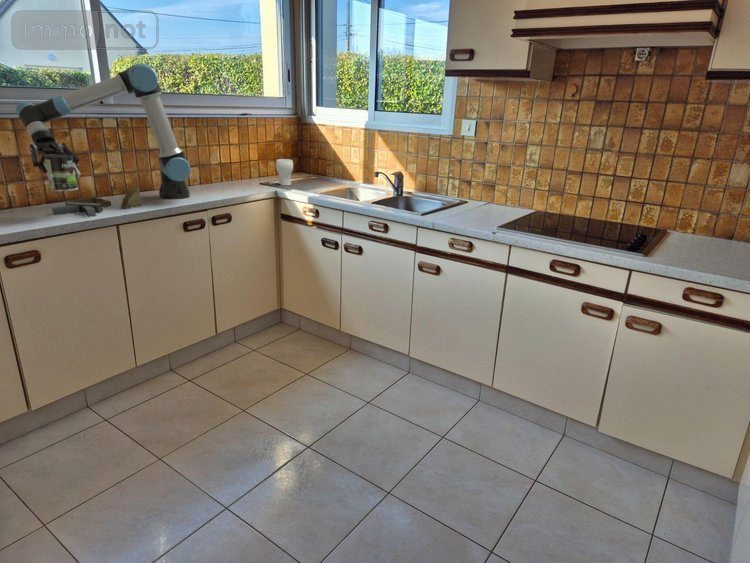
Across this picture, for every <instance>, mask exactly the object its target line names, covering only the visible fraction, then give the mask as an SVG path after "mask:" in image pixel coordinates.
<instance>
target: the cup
mask: <svg viewBox="0 0 750 563" xmlns="http://www.w3.org/2000/svg"><path fill="white" fill-rule="evenodd" d="M275 169H276V172H277V174H278V185H279V184H281V185H280V186H291V185H292V180H291V176H292V172H293V171H294V162H293V160H292V159H290V158H289V159H288V158H287V159H286V158H279V159H276V161H275Z"/></svg>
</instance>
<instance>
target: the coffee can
mask: <svg viewBox="0 0 750 563" xmlns="http://www.w3.org/2000/svg"><path fill="white" fill-rule="evenodd" d="M44 164H47V166H48V168H49V170H50V171H51V173H52V175H53V179H52V181H50V180H49V178H48V177H47V180H48V184H49V190H50V191H51V192H72V191H77V190H79V187H78V182H77V181H78V180H77V177H76V174H75V168H74V162H73V155H66V154H45V156H44Z"/></svg>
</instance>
